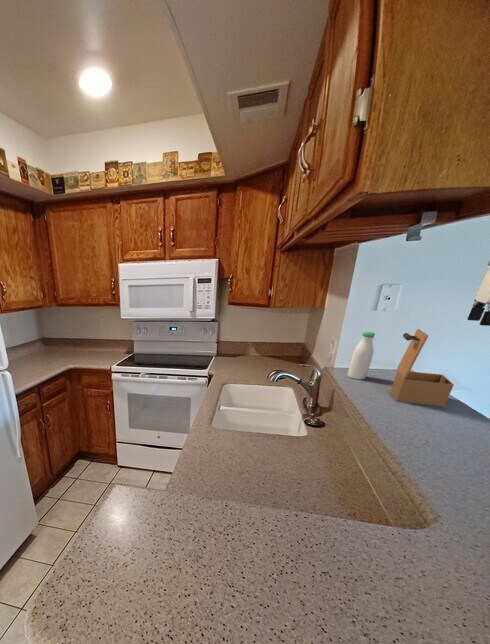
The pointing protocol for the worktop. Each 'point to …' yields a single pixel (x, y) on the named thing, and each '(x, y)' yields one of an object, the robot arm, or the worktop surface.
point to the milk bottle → (362, 357)
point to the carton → (422, 388)
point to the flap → (412, 351)
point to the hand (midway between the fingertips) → (479, 322)
